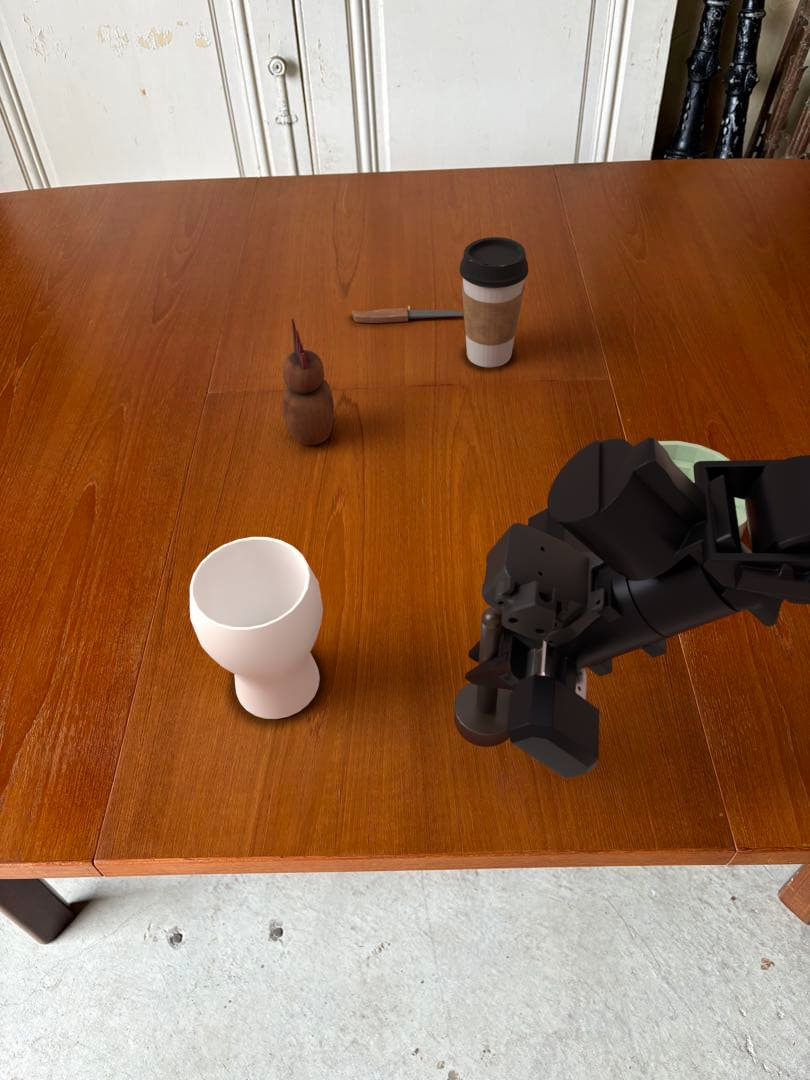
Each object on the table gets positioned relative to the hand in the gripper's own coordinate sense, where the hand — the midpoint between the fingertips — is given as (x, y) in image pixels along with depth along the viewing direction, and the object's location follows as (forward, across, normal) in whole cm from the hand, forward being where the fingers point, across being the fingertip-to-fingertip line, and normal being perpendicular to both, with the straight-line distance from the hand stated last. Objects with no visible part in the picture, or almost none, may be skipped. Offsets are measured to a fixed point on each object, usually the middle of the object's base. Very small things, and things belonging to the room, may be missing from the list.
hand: (470, 668), depth 60 cm
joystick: (+4, 0, +6) cm, 7 cm away
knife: (+21, -65, -2) cm, 68 cm away
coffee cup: (+13, -58, +7) cm, 60 cm away
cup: (+22, -4, -3) cm, 23 cm away
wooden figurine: (+26, -39, -7) cm, 47 cm away
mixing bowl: (-3, -31, +22) cm, 38 cm away
